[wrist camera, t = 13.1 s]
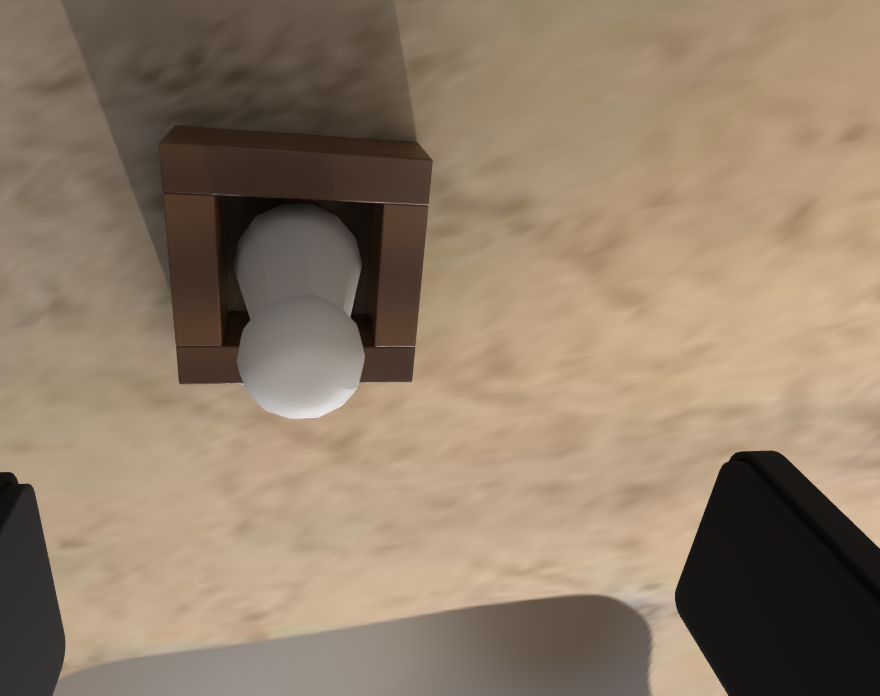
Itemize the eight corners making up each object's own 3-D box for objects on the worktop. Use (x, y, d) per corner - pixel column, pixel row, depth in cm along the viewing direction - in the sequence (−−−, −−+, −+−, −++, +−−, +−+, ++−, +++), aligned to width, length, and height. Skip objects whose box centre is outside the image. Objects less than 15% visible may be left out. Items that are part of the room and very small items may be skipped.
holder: (174, 125, 30) (158, 142, 27) (418, 141, 32) (432, 159, 29) (190, 346, 35) (178, 384, 31) (401, 346, 37) (412, 383, 34)
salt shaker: (275, 319, 35) (266, 473, 24) (215, 223, 32) (172, 346, 21) (376, 271, 35) (416, 403, 24) (325, 170, 32) (342, 265, 21)
